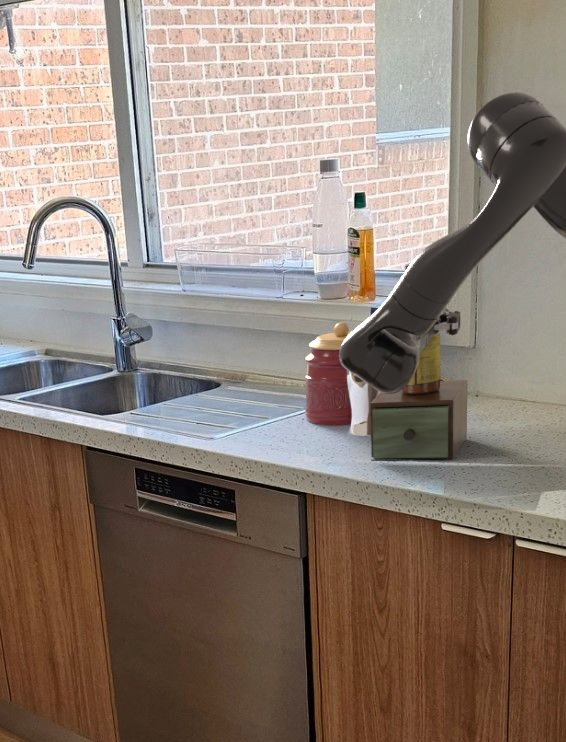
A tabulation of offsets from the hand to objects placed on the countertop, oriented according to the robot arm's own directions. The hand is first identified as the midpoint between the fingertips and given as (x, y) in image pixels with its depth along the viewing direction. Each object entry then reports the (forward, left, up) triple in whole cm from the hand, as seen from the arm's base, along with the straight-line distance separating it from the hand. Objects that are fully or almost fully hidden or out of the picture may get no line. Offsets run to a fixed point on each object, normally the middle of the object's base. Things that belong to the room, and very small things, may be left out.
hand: (421, 317), depth 193 cm
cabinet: (0, +2, -21) cm, 21 cm away
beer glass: (+11, -9, -21) cm, 25 cm away
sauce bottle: (0, +2, -11) cm, 12 cm away
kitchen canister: (+18, -20, -21) cm, 34 cm away
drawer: (0, +5, -20) cm, 20 cm away
